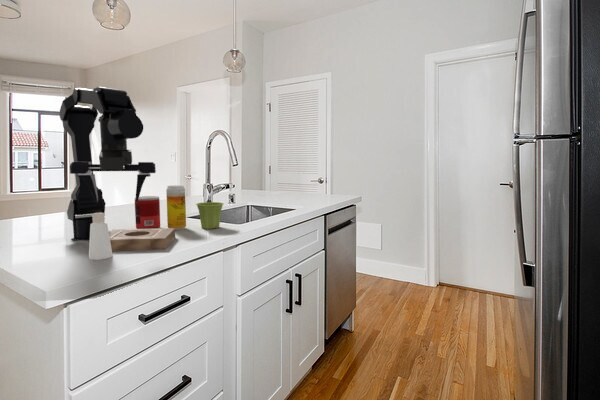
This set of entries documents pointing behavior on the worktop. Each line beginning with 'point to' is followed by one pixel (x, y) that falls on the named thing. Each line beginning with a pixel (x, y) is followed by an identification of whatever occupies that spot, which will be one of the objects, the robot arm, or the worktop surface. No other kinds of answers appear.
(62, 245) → the worktop surface
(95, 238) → the salt shaker
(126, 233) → the board
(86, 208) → the robot arm
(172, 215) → the yellow canister
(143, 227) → the canned food
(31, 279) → the worktop surface
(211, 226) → the plant pot
